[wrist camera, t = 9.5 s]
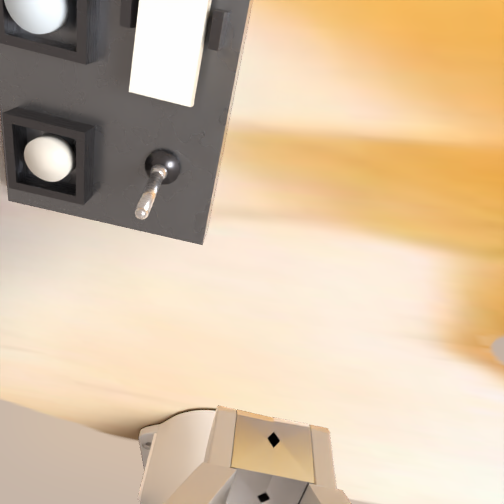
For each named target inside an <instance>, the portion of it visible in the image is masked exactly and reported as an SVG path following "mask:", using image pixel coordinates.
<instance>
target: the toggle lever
mask: <svg viewBox="0 0 504 504" xmlns="http://www.w3.org/2000/svg"><path fill="white" fill-rule="evenodd" d="M150 174H151V175H150V178H149V180H148V182H147V185H146V187H145V189H144V191H143V194H142V196H141V198H140V200H139V203H138V205H137V207H136V209H135V215H136V217H137V218H139V219H145V218H147V217H148V215H149V212H150V210H151V208H152V205H153V203H154V200H155V198H156V195H157V193H158V190H159V188H160V186H161V183H162V181H163V180H164V179H165V178H166V176H167V169H166V167H165V166H163V165H161V164H156V165H154V166H153V167H152V168H151V171H150Z"/></svg>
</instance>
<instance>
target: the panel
mask: <svg viewBox="0 0 504 504" xmlns="http://www.w3.org/2000/svg"><path fill="white" fill-rule="evenodd" d="M252 2H253V0H212V1H211V7H210V12H209V18H208V24H207V30H206V36H205V41H204V47H203V53H202V59H201V65H200V70H199V76H198V82H197V88H196V94H195V99H194V105H193V106H192V107H188V106H184V105H180V104H176V103H172V102H168V101H164V100H160V99H156V98H152V97H148V96H144V95H140V94H136V93H132V92H129V85H130V76H131V68H132V59H133V50H134V42H135V33H136V24H137V15H138V7H139V0H68V5H69V14H68V19H67V21H66V23H65V25H64V26H63V27H62V28H61V29H60V30H58V31H56V32H53V33H45V34H34V33H30V32H28V31H26V30H24V29H23V28H21V27H20V26H19V25H18V24H17V23H16V22H15V21H14V20H13V19H12V17H11V16H10V14H9V12H8V10H7V8H6V5H5V2H4V0H0V111H1V122H2V134H3V145H4V156H5V167H6V179H7V190H8V201H12V202H17V203H21V204H26V205H30V206H34V207H39V208H43V209H47V210H52V211H56V212H61V213H65V214H69V215H74V216H78V217H82V218H87V219H91V220H96V221H100V222H104V223H109V224H113V225H117V226H122V227H126V228H130V229H135V230H139V231H144V232H148V233H152V234H157V235H161V236H165V237H170V238H174V239H179V240H183V241H187V242H192V243H196V244H200V245H203V242H204V239H205V236H206V233H207V230H208V226H209V221H210V216H211V211H212V206H213V200H214V195H215V190H216V185H217V180H218V175H219V170H220V165H221V160H222V155H223V150H224V145H225V140H226V134H227V129H228V124H229V119H230V114H231V109H232V104H233V99H234V94H235V89H236V84H237V79H238V73H239V68H240V63H241V58H242V53H243V48H244V43H245V38H246V33H247V28H248V23H249V18H250V13H251V7H252ZM44 134H54V135H57V136H59V137H61V138H63V139H64V140H65V141H67V142H68V143H69V144H70V146H71V147H72V149H73V151H74V153H75V157H76V164H75V167H74V169H73V170H72V171H71V172H70V173H69V174H68V175H67V176H65V177H64V178H63V179H61V180H59V181H56V182H50V181H45V180H42V179H40V178H39V177H37V176H36V175H34V174H33V173H32V172H31V170H30V169H29V168H28V166H27V164H26V162H25V159H24V150H25V147H26V145H27V144H28V143H29V142H30V141H32V140H34V139H35V138H37V137H39V136H41V135H44ZM156 164H161V165H163V166H165V167H166V169H167V176H166V178H165V179H164V180H163V181H162V183H161V186H160V188H159V190H158V193H157V195H156V198H155V200H154V203H153V205H152V208H151V210H150V212H149V215H148V217H147V218H145V219H139V218H137V217H136V215H135V209H136V207H137V205H138V203H139V200H140V198H141V196H142V194H143V191H144V189H145V187H146V185H147V182H148V180H149V178H150V175H151V174H150V171H151V168H152V167H153V166H154V165H156Z"/></svg>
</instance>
